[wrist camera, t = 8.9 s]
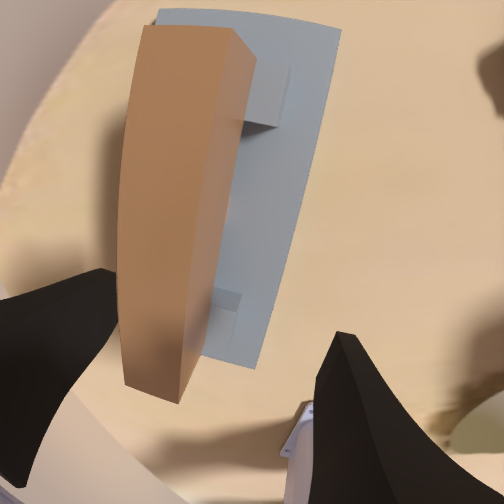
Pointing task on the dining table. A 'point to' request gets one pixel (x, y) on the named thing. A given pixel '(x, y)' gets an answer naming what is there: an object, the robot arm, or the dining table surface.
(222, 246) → the display stand
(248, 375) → the dining table surface
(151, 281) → the brown bar
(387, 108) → the dining table surface
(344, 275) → the dining table surface
